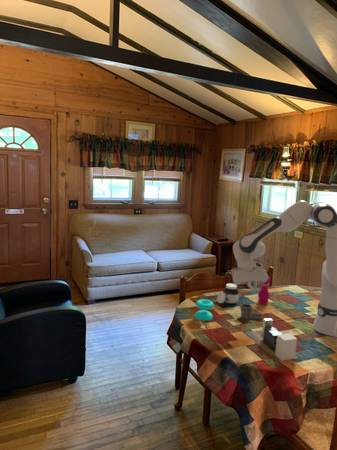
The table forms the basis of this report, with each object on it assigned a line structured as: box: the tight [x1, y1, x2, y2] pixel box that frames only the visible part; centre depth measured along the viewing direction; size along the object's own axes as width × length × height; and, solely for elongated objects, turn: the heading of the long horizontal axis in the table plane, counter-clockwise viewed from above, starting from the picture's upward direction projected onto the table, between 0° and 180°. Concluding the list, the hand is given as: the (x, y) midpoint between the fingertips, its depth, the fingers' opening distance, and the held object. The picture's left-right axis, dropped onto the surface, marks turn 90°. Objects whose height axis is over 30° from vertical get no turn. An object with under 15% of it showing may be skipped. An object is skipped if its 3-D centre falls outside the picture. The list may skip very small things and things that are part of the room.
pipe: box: [239, 303, 263, 321], centre depth 198 cm, size 6×13×8 cm, turn 78°
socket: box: [275, 333, 298, 362], centre depth 158 cm, size 7×5×10 cm
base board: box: [245, 329, 300, 362], centre depth 170 cm, size 13×28×1 cm, turn 18°
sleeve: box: [263, 326, 283, 350], centre depth 168 cm, size 5×8×8 cm, turn 18°
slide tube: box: [261, 317, 277, 343], centre depth 165 cm, size 4×18×10 cm, turn 18°
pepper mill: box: [257, 273, 271, 305], centre depth 222 cm, size 7×7×20 cm
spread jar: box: [216, 283, 240, 306], centre depth 219 cm, size 12×11×12 cm
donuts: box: [194, 298, 215, 322], centre depth 195 cm, size 10×10×10 cm
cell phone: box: [199, 323, 210, 331], centre depth 185 cm, size 9×18×1 cm, turn 68°
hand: (254, 290), depth 186 cm, fingers closed
